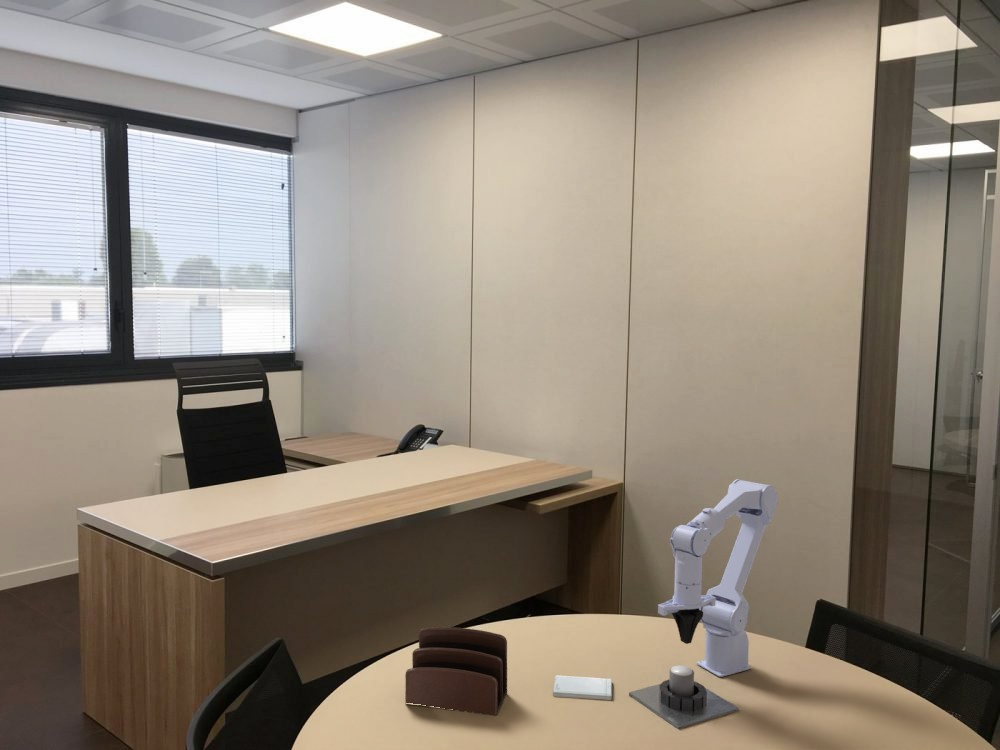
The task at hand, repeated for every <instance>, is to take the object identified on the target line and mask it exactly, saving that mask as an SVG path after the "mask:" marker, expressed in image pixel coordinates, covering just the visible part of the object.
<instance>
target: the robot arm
mask: <svg viewBox="0 0 1000 750" xmlns="http://www.w3.org/2000/svg"><path fill="white" fill-rule="evenodd" d="M778 502H779V499H778V492H777V490H776V488H775V486H774V485H772V484H764V483H760V482H759V483H758V482H753V481H747V480H744V479H742V478H737V479H735V480H733V482H731V483H730V484H729V486H728V488H727V494H726V495H725V496H724V497H723V498H722V499H721V500H720V501H719V502H718V504H716V505H715V507H714V508H712V507H711V508H710V507H709V508H707V507H705V508H703V509H702V510H701V512H699V514H697V515H696V516H695V517H694V518H692V520H690V521H689V522H688V523H687V524H686V525H685V524H680V525H678V526H676V527H675V528H674V529H673V530H672V532H671V535H670V536H671V537H670V538H669V544H670V545H669V546H670V547H671V549H672V556H673V558H674V560H675V562H674V590H673V595H672V599H669V600H667V601H665V602H662V603H659V604H657V614H658V615H661V616H663V617H665V616H668V615H669V614H671V615H672V616H673V619H674V621H675V623H676V626H677V629H678V634H679V638H680V639H679V640H680V641H681V642H682V643H684V644H686V645H688V644H691V643H692V641H693V637H694V636H695V635H694V634H695V632H696V629H697V627H698V624H699V623H700V622H701V624H703V625H702V627H703V628H704V629H705V651H704V652H705V653H704V654H705V656H704V660H703V659H702V660H698V661H697V662H696V664H697V666H699V667H701V668H703V669H704V670H706V671H708V672H709V673H712V674H714V675H715V676H717V677H720V678H722V677H727V676H730V675H733V674H737V673H740V672H741V673H742V672H744V671H747V670H751V668H752V667H751V666H750V665H749V647H750V645H749V644H750V641H749V637H748V634H747V632H746V631H745V628H746V626H747V623H748V614H749V610H750V604H749V603H748V601H747V599H746V597H745V596H744V594H743V592H744V589H745V587H746V583H747V580H748V579H749V578H748V577H749V575H750V572H751V569H752V567H753V564H754V562H755V559H756V558H755V557H756V555H757V553H758V550H759V547H760V544H761V541H762V539H763V536H764V533H765V531H766V527H767V525H769V524H770V523H771V522H772V520H773V517H774V514H775V511H776V508H777V506H778ZM733 515H736V517H738V518H739V519H740V520H741V526H740V528H739V529H740V530H739V533H738V534H737V537H736V539H735V543H734V545H733V549H732V551H731V554H730V557H729V559H728V561H727V565H726V567H725V569H724V573H723V575H722V579H721V581H720V583H719V584H718V585H716V586H714V587H711V588H709V589H708V590H707V592H706V593H705V594H706V595H705V594H704V595H703V594H702V582H703V581H702V579H703V573H702V572H703V555H704V554H706V552H707V551H708V548H709V545H710V544H711V542H712V540H713V538H714V537H716V535H718V534H719V533H720V532H721V531H723V529H724V528H725V521H726V520H727V519H729V518H731V517H732V516H733Z"/></svg>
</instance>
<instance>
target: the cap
mask: <svg viewBox="0 0 1000 750" xmlns="http://www.w3.org/2000/svg"><path fill="white" fill-rule="evenodd" d="M694 676H695V671H694V670H693V669H692V668H691V667H689V666H686V665H675V666H672V667H671V668H670V669H669V680H670V692H671V693H673V694H675V695H679V696H693V695H694V681H695V677H694Z"/></svg>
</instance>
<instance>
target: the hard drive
mask: <svg viewBox="0 0 1000 750" xmlns="http://www.w3.org/2000/svg"><path fill="white" fill-rule="evenodd" d="M554 676H555V677H554V681H553V682H554V684H553V690H552V697H561V698H562V697H563V698H576V699H577V698H578V699H590V700H591V699H592V700H606V701H608V700H609V701H612V695H613V694H612V686H613V685H612V678H604V677H603V678H599V677H589V676H588V677H587V676H574V675H573V676H571V675H570V676H569V675H554Z"/></svg>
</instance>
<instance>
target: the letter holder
mask: <svg viewBox="0 0 1000 750" xmlns="http://www.w3.org/2000/svg"><path fill="white" fill-rule="evenodd" d="M411 654H412V659H411V660H412V663H411V664H412V667H411V668H407V670H406V671H405V679H404V680H405V684H404V685H405V700H404V702H405V704H406V703H413V704H421V705H426V706H434V707H440V708H445V709H444V710H447V709H453V710H452V711H455V710H459V711H458V712H464V711H467V712H466V713H472V712H474V714H480V713H482V714H481V715H489V716H498V714H499V712H500V709H501V708H502V705H503V703H504V702H505V699H506V698H507V695H508V692H509V691H508V641H507V638H506V637H505V636H504V635H502V634H499V633H494V632H490V631H486V630H480V629H474V628H464V627H450V626H436V627H435V626H433V627H431V626H430V627H423V628H420V629H419V630H418V648H415V649H414V650H413V651H412V653H411Z"/></svg>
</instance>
